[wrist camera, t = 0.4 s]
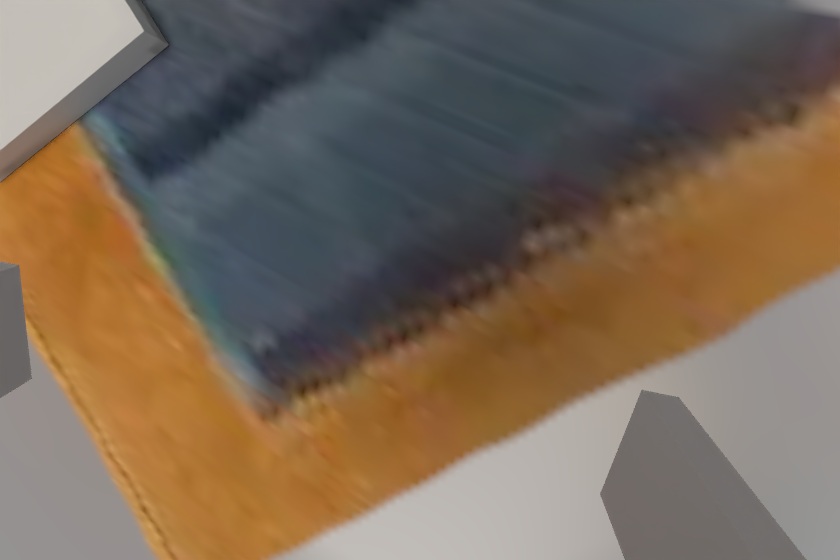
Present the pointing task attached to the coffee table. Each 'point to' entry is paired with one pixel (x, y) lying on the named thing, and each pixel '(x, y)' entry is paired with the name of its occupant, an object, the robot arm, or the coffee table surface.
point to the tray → (64, 65)
